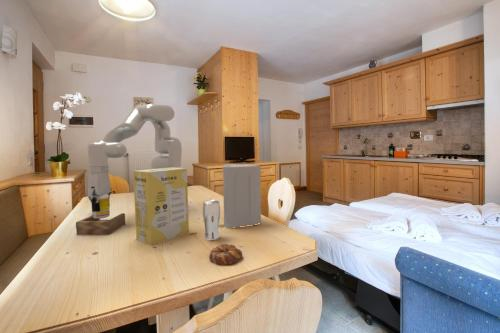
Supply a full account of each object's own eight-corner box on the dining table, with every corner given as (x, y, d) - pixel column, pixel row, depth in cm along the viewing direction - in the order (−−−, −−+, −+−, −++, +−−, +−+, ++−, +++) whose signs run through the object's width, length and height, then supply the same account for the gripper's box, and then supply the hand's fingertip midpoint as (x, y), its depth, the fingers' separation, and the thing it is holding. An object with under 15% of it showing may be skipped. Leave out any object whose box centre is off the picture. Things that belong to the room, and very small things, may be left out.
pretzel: (205, 254, 89) (204, 244, 89) (234, 249, 94) (234, 239, 93) (214, 269, 78) (213, 257, 78) (246, 262, 83) (246, 251, 82)
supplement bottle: (113, 216, 117) (111, 188, 116) (99, 219, 111) (97, 190, 110) (103, 214, 120) (102, 187, 119) (89, 218, 114) (87, 189, 113)
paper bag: (211, 224, 122) (209, 166, 119) (231, 217, 134) (230, 164, 131) (243, 232, 111) (242, 168, 108) (261, 223, 123) (261, 165, 120)
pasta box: (174, 227, 118) (171, 167, 116) (188, 231, 112) (186, 168, 109) (136, 239, 103) (133, 170, 101) (151, 245, 97) (147, 172, 95)
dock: (125, 224, 123) (124, 213, 123) (108, 234, 109) (108, 222, 109) (96, 224, 123) (96, 213, 123) (76, 234, 109) (75, 222, 109)
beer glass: (223, 235, 106) (222, 200, 105) (215, 242, 100) (214, 204, 98) (208, 234, 109) (207, 199, 107) (200, 240, 102) (199, 203, 101)
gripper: (102, 168, 123) (104, 205, 124) (77, 172, 105) (79, 214, 107) (117, 168, 123) (119, 204, 124) (95, 172, 105) (97, 214, 107)
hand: (101, 209), depth 115 cm, fingers closed on supplement bottle, 6 cm apart
